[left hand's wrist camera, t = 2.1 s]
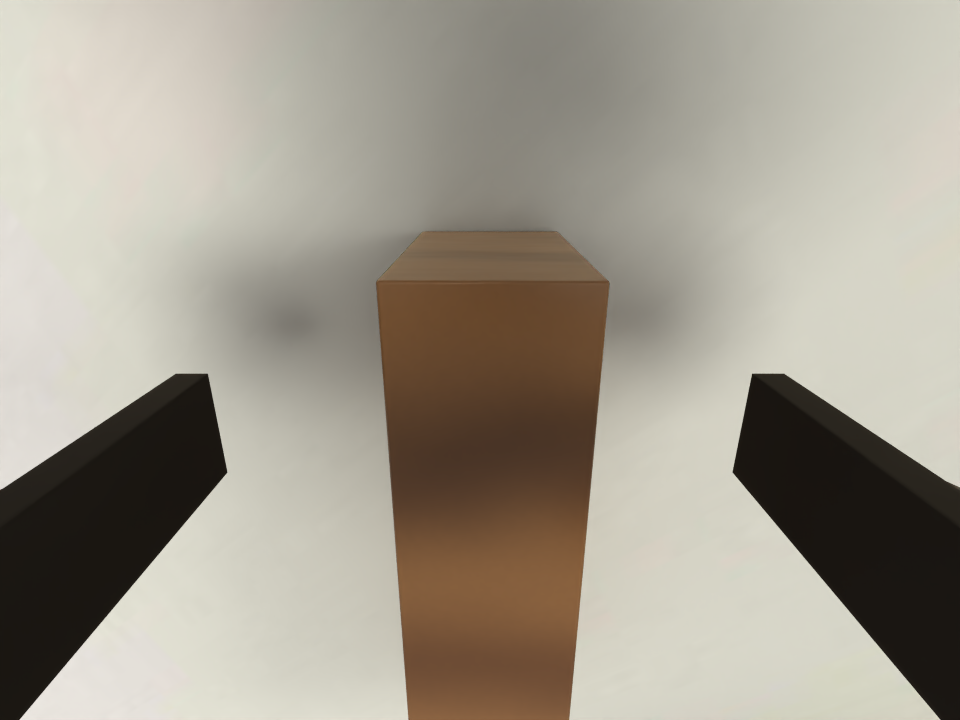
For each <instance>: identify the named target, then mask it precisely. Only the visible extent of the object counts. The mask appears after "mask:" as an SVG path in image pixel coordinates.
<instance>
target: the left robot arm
mask: <svg viewBox="0 0 960 720" xmlns="http://www.w3.org/2000/svg"><path fill="white" fill-rule="evenodd" d="M226 473H227V468H226V463H225V458H224V453H223V448H222V443H221V438H220V433H219V428H218V423H217V418H216V413H215V408H214V403H213V398H212V393H211V387H210V382H209V377H208V374H175V375H173V376H172V377H170V378H169V379H167V380H166V381H164V382H163V383H161V384H160V385H158V386H157V387H155V388H154V389H152V390H151V391H149V392H148V393H146V394H145V395H143V396H142V397H140V398H139V399H137V400H136V401H134V402H133V403H131V404H130V405H128V406H127V407H125V408H124V409H122V410H121V411H119V412H118V413H116V414H115V415H113V416H112V417H110V418H109V419H107V420H106V421H104V422H103V423H101V424H100V425H98V426H97V427H95V428H94V429H92V430H91V431H89V432H88V433H86V434H85V435H83V436H82V437H80V438H79V439H77V440H76V441H74V442H72V443H71V444H69V445H68V446H66V447H65V448H63V449H62V450H60V451H59V452H57V453H56V454H54V455H53V456H51V457H50V458H48V459H47V460H45V461H44V462H42V463H41V464H39V465H38V466H36V467H35V468H33V469H32V470H30V471H29V472H27V473H26V474H24V475H23V476H21V477H20V478H18V479H17V480H15V481H14V482H12V483H11V484H9V485H8V486H6V487H5V488H3V489H1V490H0V720H20V718H21V717H22V716H23V715H24V714H25V712H26V711H27V710H28V709H29V708H30V706H31V705H32V704H33V703H34V702H35V701H36V699H37V698H38V697H39V696H40V695H41V693H42V692H43V691H44V690H45V689H46V687H47V686H48V685H49V684H50V683H51V681H52V680H53V679H54V678H55V677H56V676H57V674H58V673H59V672H60V671H61V670H62V668H63V667H64V666H65V665H66V664H67V662H68V661H69V660H70V659H71V658H72V657H73V655H74V654H75V653H76V652H77V651H78V649H79V648H80V647H81V646H82V645H83V643H84V642H85V641H86V640H87V639H88V638H89V636H90V635H91V634H92V633H93V632H94V630H95V629H96V628H97V627H98V626H99V624H100V623H101V622H102V621H103V620H104V618H105V617H106V616H107V615H108V614H109V613H110V611H111V610H112V609H113V608H114V607H115V605H116V604H117V603H118V602H119V601H120V599H121V598H122V597H123V596H124V595H125V594H126V592H127V591H128V590H129V589H130V588H131V586H132V585H133V584H134V583H135V582H136V580H137V579H138V578H139V577H140V576H141V574H142V573H143V572H144V571H145V570H146V569H147V567H148V566H149V565H150V564H151V563H152V561H153V560H154V559H155V558H156V557H157V555H158V554H159V553H160V552H161V551H162V550H163V548H164V547H165V546H166V545H167V544H168V542H169V541H170V540H171V539H172V538H173V536H174V535H175V534H176V533H177V532H178V530H179V529H180V528H181V527H182V526H183V525H184V523H185V522H186V521H187V520H188V519H189V517H190V516H191V515H192V514H193V513H194V511H195V510H196V509H197V508H198V507H199V506H200V504H201V503H202V502H203V501H204V500H205V498H206V497H207V496H208V495H209V494H210V492H211V491H212V490H213V489H214V488H215V486H216V485H217V484H218V483H219V482H220V481H221V479H222V478H223V477H224V476H225V475H226ZM733 473H734V475H735V476H736V477H737V478H738V479H739V481H740V482H741V483H742V484H743V485H744V486H745V488H746V489H747V490H748V491H749V492H750V494H751V495H752V496H753V497H754V498H755V500H756V501H757V502H758V503H759V504H760V506H761V507H762V508H763V509H764V510H765V511H766V513H767V514H768V515H769V516H770V517H771V519H772V520H773V521H774V522H775V523H776V525H777V526H778V527H779V528H780V529H781V530H782V532H783V533H784V534H785V535H786V536H787V538H788V539H789V540H790V541H791V542H792V544H793V545H794V546H795V547H796V548H797V550H798V551H799V552H800V553H801V554H802V555H803V557H804V558H805V559H806V560H807V561H808V563H809V564H810V565H811V566H812V567H813V569H814V570H815V571H816V572H817V573H818V574H819V576H820V577H821V578H822V579H823V580H824V582H825V583H826V584H827V585H828V586H829V588H830V589H831V590H832V591H833V592H834V594H835V595H836V596H837V597H838V598H839V599H840V601H841V602H842V603H843V604H844V605H845V607H846V608H847V609H848V610H849V611H850V613H851V614H852V615H853V616H854V617H855V618H856V620H857V621H858V622H859V623H860V624H861V626H862V627H863V628H864V629H865V630H866V632H867V633H868V634H869V635H870V636H871V638H872V639H873V640H874V641H875V642H876V643H877V645H878V646H879V647H880V648H881V649H882V651H883V652H884V653H885V654H886V655H887V657H888V658H889V659H890V660H891V661H892V662H893V664H894V665H895V666H896V667H897V668H898V670H899V671H900V672H901V673H902V674H903V676H904V677H905V678H906V679H907V680H908V681H909V683H910V684H911V685H912V686H913V687H914V689H915V690H916V691H917V692H918V693H919V695H920V696H921V697H922V698H923V699H924V701H925V702H926V703H927V704H928V705H929V706H930V708H931V709H932V710H933V711H934V712H935V714H936V715H937V716H938V717H939V718H940V720H960V487H958V486H955V485H953V484H951V483H949V482H946V481H945V480H943V479H942V478H940V477H939V476H937V475H936V474H934V473H933V472H931V471H930V470H928V469H927V468H925V467H924V466H922V465H921V464H919V463H918V462H916V461H915V460H913V459H912V458H910V457H909V456H907V455H906V454H904V453H903V452H901V451H900V450H898V449H897V448H895V447H894V446H892V445H891V444H889V443H888V442H886V441H884V440H883V439H881V438H880V437H878V436H877V435H875V434H874V433H872V432H871V431H869V430H868V429H866V428H865V427H863V426H862V425H860V424H859V423H857V422H856V421H854V420H853V419H851V418H850V417H848V416H847V415H845V414H844V413H842V412H841V411H839V410H838V409H836V408H835V407H833V406H832V405H830V404H829V403H827V402H826V401H824V400H823V399H821V398H820V397H818V396H817V395H815V394H814V393H812V392H811V391H809V390H808V389H806V388H805V387H803V386H802V385H800V384H799V383H797V382H796V381H794V380H793V379H791V378H790V377H788V376H787V375H785V374H752V377H751V382H750V387H749V392H748V398H747V403H746V408H745V413H744V418H743V423H742V428H741V433H740V438H739V443H738V448H737V453H736V458H735V463H734V468H733Z"/></svg>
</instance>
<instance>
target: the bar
mask: <svg viewBox="0 0 960 720" xmlns="http://www.w3.org/2000/svg"><path fill="white" fill-rule="evenodd" d="M376 288H377V302H378V315H379V329H380V342H381V356H382V369H383V382H384V396H385V409H386V423H387V436H388V450H389V463H390V477H391V490H392V504H393V517H394V531H395V544H396V557H397V571H398V584H399V598H400V611H401V625H402V638H403V652H404V665H405V679H406V692H407V706H408V719H409V720H569V716H570V705H571V694H572V683H573V673H574V662H575V651H576V640H577V629H578V618H579V608H580V597H581V586H582V575H583V564H584V553H585V543H586V532H587V521H588V510H589V499H590V489H591V478H592V467H593V456H594V445H595V434H596V424H597V413H598V402H599V391H600V380H601V370H602V359H603V348H604V337H605V326H606V315H607V305H608V294H609V281H608V280H607V279H606V278H605V277H604V276H602V275H601V274H600V273H599V272H598V271H597V270H596V269H595V268H594V267H593V266H592V265H591V264H590V263H589V262H588V261H587V260H586V259H585V258H584V257H583V256H582V255H581V254H580V253H579V252H578V251H577V250H576V249H575V248H574V247H572V246H571V245H570V244H569V243H568V242H567V241H566V240H565V239H564V238H563V237H562V236H561V235H560V234H559V233H558V232H422V233H421V234H420V235H419V236H418V237H417V238H416V240H415V241H414V242H413V243H412V244H411V245H410V246H409V247H408V248H407V249H406V250H405V251H404V252H403V253H402V255H401V256H400V257H399V258H398V259H397V260H396V261H395V262H394V263H393V264H392V265H391V266H390V267H389V268H388V270H387V271H386V272H385V273H384V274H383V275H382V276H381V277H380V278H379V279H378V280H377V282H376Z"/></svg>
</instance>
